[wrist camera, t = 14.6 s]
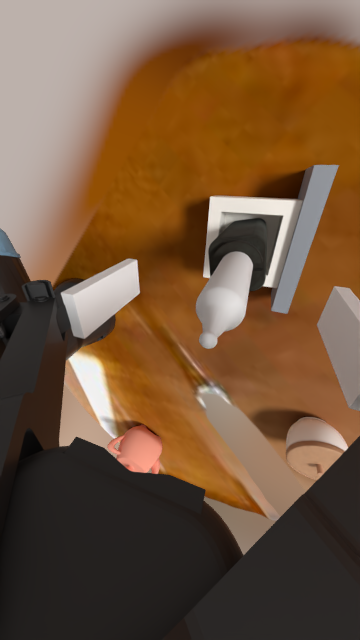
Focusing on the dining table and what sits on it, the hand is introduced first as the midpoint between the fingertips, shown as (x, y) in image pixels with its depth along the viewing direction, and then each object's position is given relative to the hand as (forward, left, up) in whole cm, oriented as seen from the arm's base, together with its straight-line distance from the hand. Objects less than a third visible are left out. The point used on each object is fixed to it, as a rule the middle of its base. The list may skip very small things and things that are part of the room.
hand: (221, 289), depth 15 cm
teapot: (-20, -65, -20) cm, 71 cm away
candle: (0, 0, -19) cm, 19 cm away
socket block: (0, 0, -20) cm, 20 cm away
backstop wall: (+6, 0, -20) cm, 21 cm away
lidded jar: (+20, -36, -20) cm, 46 cm away
